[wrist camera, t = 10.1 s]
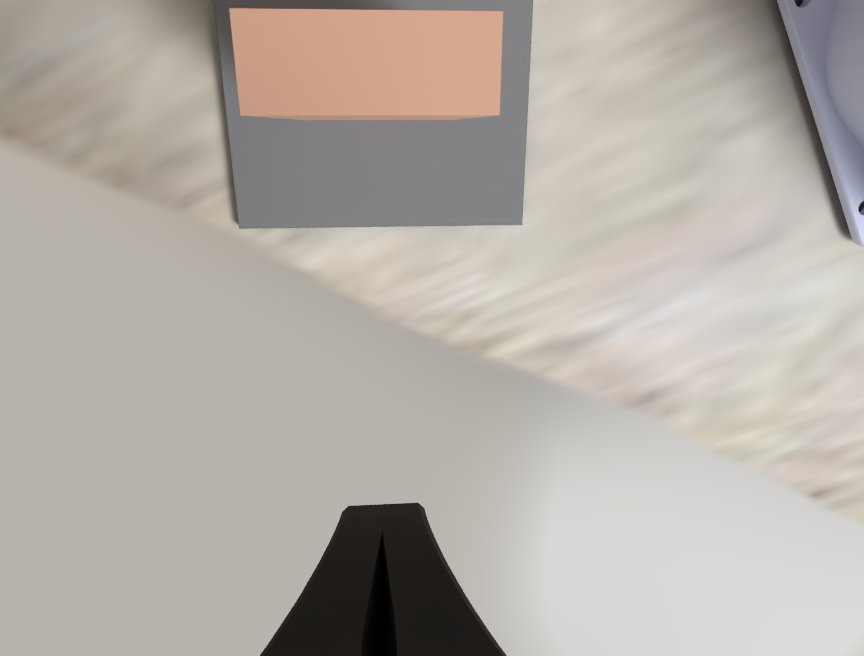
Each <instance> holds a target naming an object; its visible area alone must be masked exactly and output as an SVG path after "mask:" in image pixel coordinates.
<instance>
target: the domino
mask: <svg viewBox="0 0 864 656" xmlns="http://www.w3.org/2000/svg"><path fill="white" fill-rule="evenodd" d="M229 11H230V21H231V30H232V40H233V50H234V59H235V69H236V78H237V88H238V97H239V107H240V116H254V117H268V118H282V119H296V120H457V119H467V118H478V117H488V116H498V115H500V90H501V61H502V32H503V11H436V10H342V9H249V8H229Z"/></svg>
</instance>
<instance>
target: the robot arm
mask: <svg viewBox="0 0 864 656" xmlns="http://www.w3.org/2000/svg"><path fill="white" fill-rule="evenodd" d="M777 2H778V5H779V9H780V12H781V15H782V18H783V21H784V24H785V28H786V31H787V34H788V37H789V40H790V43H791V47H792V50H793V53H794V56H795V59H796V62H797V66H798V69H799V72H800V75H801V78H802V82H803V85H804V88H805V91H806V94H807V97H808V101H809V104H810V107H811V110H812V113H813V116H814V120H815V123H816V126H817V129H818V132H819V135H820V139H821V142H822V145H823V148H824V151H825V155H826V158H827V161H828V164H829V167H830V170H831V174H832V177H833V180H834V183H835V186H836V189H837V193H838V196H839V199H840V202H841V205H842V208H843V212H844V215H845V218H846V221H847V224H848V227H849V231H850V234H851V237H852V240H853V241H854V243H855V244H857V245H859V246H863V247H864V208H863V210H862V211H860V212H859V209H858V207H859V205H860V203H861V202H862V201H864V0H803V1H802V4H801V6H800V7H797V5H796V4H795V0H777ZM260 656H506V654H505V653H504V652H503V650H502V649H501V648H500V646H499V645H498V643H497V642H496V641H495V639H494V638H493V636H492V635H491V634H490V632H489V631H488V629H487V628H486V626H485V625H484V623H483V622H482V620H481V619H480V617H479V616H478V614H477V613H476V612H475V610H474V608H473V607H472V605H471V603H470V602H469V600H468V599H467V597H466V596H465V594H464V592H463V590H462V589H461V587H460V585H459V583H458V582H457V580H456V578H455V576H454V575H453V573H452V571H451V569H450V568H449V566H448V564H447V562H446V560H445V558H444V556H443V554H442V552H441V550H440V548H439V546H438V544H437V542H436V540H435V537H434V535H433V533H432V531H431V528H430V525H429V523H428V520H427V517H426V514H425V510H424V508H423V507H422V506H421V505H420V504H419V503H404V504H383V505H361V506H348V507H347V508H346V509H345V510H344V511H343V512H342V515H341V517H340V520H339V523H338V525H337V527H336V530H335V532H334V534H333V536H332V538H331V540H330V543H329V545H328V546H327V548H326V551H325V552H324V554H323V556H322V558H321V560H320V562H319V564H318V565H317V567H316V569H315V571H314V572H313V574H312V576H311V578H310V579H309V581H308V583H307V585H306V586H305V588H304V590H303V592H302V593H301V595H300V596H299V598H298V600H297V602H296V603H295V605H294V606H293V607H292V609H291V611H290V612H289V614H288V615H287V617H286V618H285V620H284V621H283V623H282V624H281V626H280V627H279V629H278V630H277V632H276V633H275V635H274V636H273V638H272V639H271V641H270V642H269V644H268V645H267V647H266V648H265V649H264V651H263V652H262V653H261V655H260Z"/></svg>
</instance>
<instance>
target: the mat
mask: <svg viewBox="0 0 864 656" xmlns="http://www.w3.org/2000/svg"><path fill="white" fill-rule="evenodd" d="M214 8H215V17H216V26H217V35H218V44H219V53H220V62H221V71H222V80H223V89H224V97H225V106H226V115H227V124H228V133H229V142H230V151H231V160H232V169H233V178H234V187H235V195H236V204H237V213H238V222H239V229H243V228H318V227H393V226H468V225H522V215H523V195H524V175H525V154H526V134H527V114H528V94H529V73H530V53H531V33H532V12H533V0H214ZM229 8H249V9H342V10H436V11H503V32H502V61H501V90H500V115H498V116H488V117H478V118H467V119H457V120H296V119H282V118H268V117H254V116H240V107H239V97H238V88H237V78H236V69H235V59H234V50H233V40H232V30H231V21H230V11H229Z"/></svg>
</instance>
